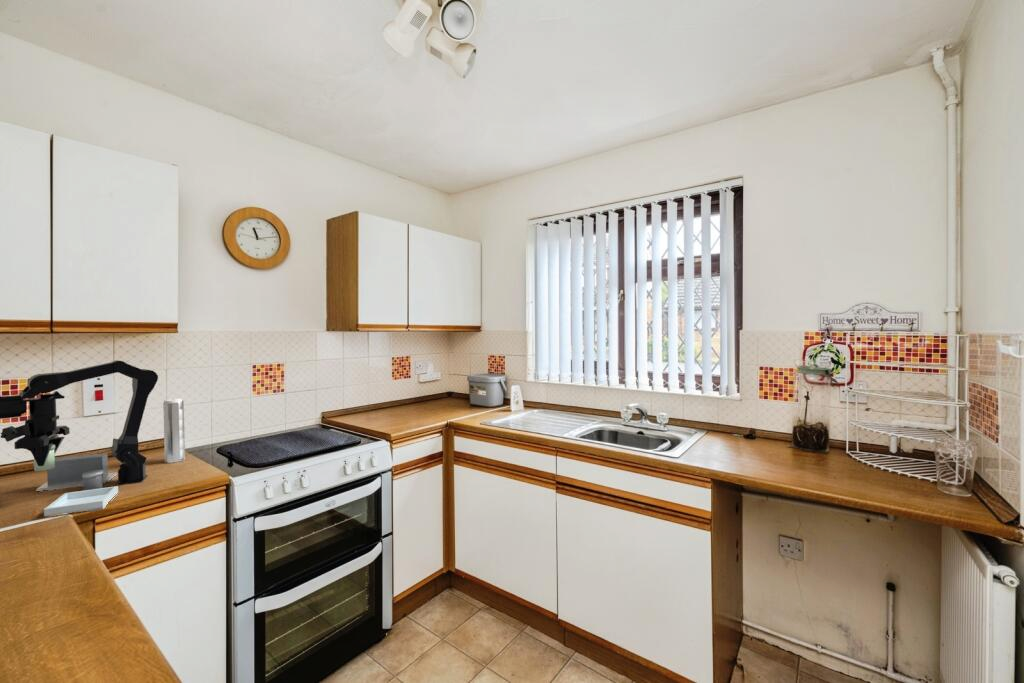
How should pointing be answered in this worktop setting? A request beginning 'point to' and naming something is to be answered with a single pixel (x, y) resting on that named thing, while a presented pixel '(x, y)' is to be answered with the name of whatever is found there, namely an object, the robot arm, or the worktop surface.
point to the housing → (75, 471)
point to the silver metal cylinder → (174, 430)
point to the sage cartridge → (47, 461)
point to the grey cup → (92, 479)
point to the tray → (82, 501)
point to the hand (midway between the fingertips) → (44, 463)
